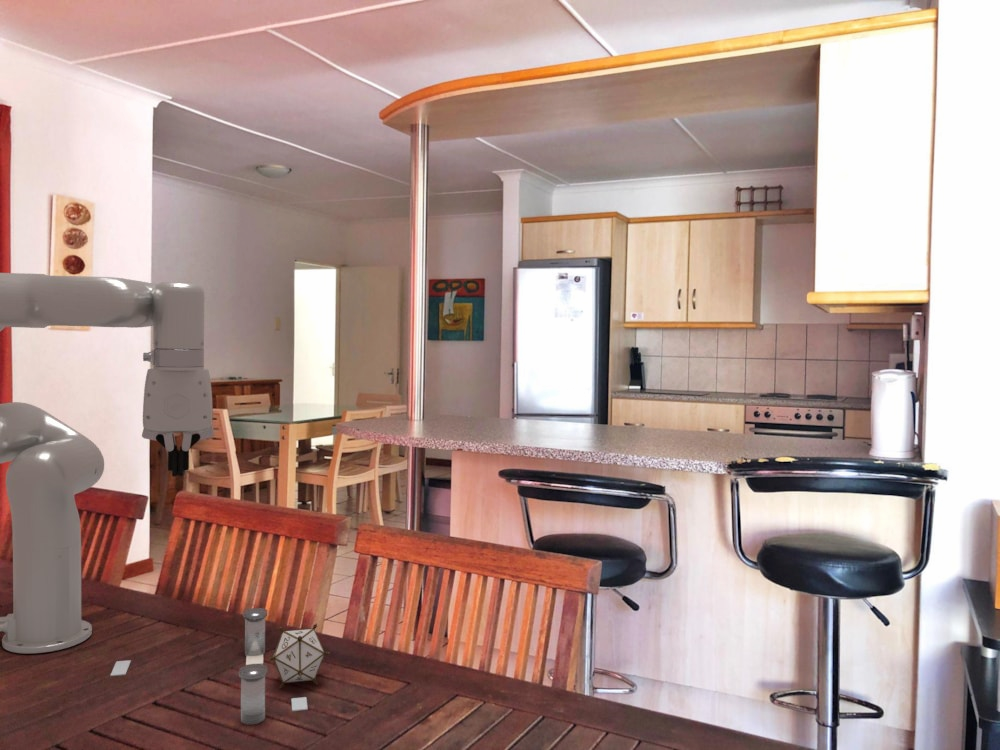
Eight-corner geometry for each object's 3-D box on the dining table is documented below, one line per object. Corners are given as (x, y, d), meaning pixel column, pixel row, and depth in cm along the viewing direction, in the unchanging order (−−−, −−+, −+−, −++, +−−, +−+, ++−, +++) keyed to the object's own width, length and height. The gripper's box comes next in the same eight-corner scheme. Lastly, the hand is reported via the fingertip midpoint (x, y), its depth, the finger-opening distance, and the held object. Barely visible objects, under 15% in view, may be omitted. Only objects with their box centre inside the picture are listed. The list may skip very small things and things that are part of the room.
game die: (304, 712, 115) (308, 675, 109) (254, 685, 117) (254, 647, 111) (338, 662, 122) (343, 625, 116) (290, 637, 124) (292, 599, 117)
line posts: (237, 727, 103) (238, 676, 103) (243, 649, 128) (243, 608, 127) (267, 723, 104) (267, 673, 104) (266, 647, 129) (267, 607, 128)
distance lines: (85, 732, 101) (85, 731, 101) (116, 662, 122) (116, 661, 122) (307, 709, 108) (307, 708, 108) (300, 647, 129) (300, 646, 129)
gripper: (123, 360, 123) (123, 480, 124) (227, 362, 127) (226, 478, 128) (131, 358, 130) (131, 472, 131) (229, 360, 134) (228, 469, 135)
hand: (178, 474), depth 129 cm, fingers closed
